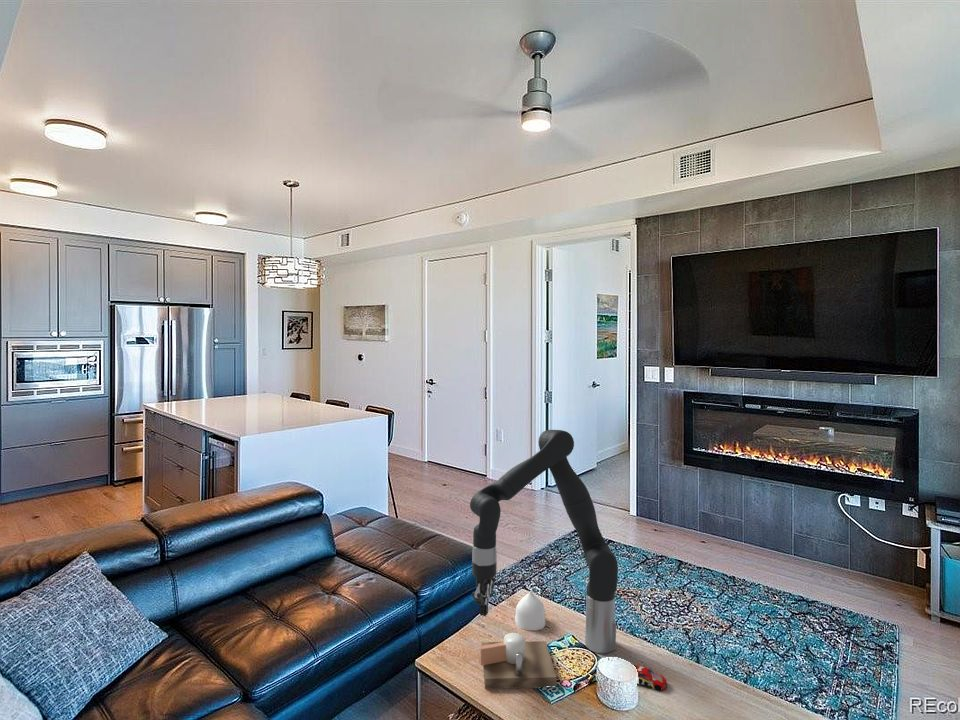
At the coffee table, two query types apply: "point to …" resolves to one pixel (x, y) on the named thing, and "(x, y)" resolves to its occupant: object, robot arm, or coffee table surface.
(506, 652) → the white cylinder with panel
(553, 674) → the base
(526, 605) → the teardrop
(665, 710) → the coffee table surface
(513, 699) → the coffee table surface
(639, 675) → the race car
